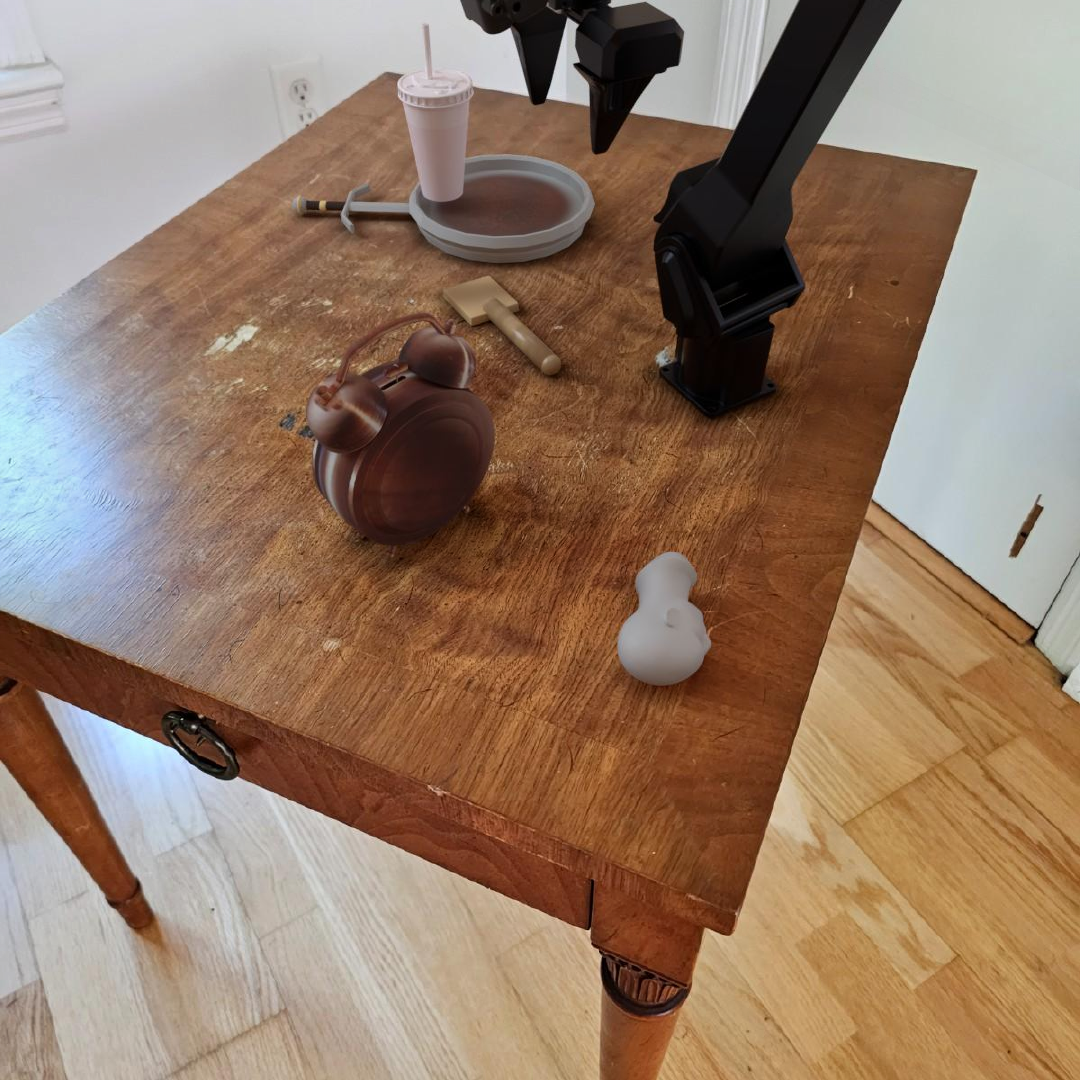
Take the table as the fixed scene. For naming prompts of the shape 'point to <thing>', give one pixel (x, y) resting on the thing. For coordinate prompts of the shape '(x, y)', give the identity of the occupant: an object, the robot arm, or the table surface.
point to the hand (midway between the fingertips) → (567, 127)
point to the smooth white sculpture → (664, 624)
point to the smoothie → (437, 124)
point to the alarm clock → (402, 436)
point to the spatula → (500, 318)
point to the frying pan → (491, 209)
